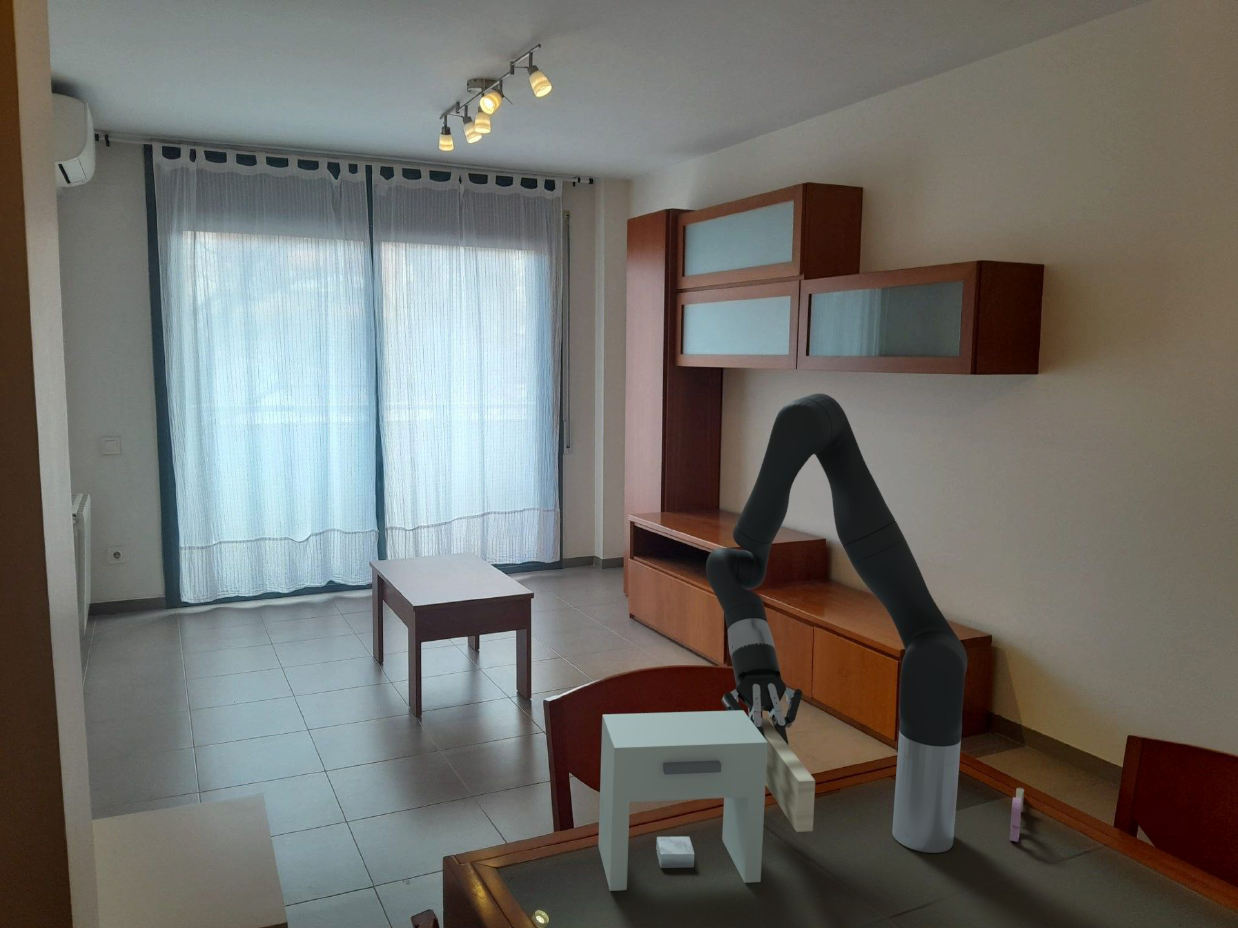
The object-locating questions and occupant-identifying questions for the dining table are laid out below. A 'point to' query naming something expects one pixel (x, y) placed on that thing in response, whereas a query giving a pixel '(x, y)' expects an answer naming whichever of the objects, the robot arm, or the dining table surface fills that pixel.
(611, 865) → the desk
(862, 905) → the dining table surface
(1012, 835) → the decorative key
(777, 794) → the beech blade
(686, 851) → the block
